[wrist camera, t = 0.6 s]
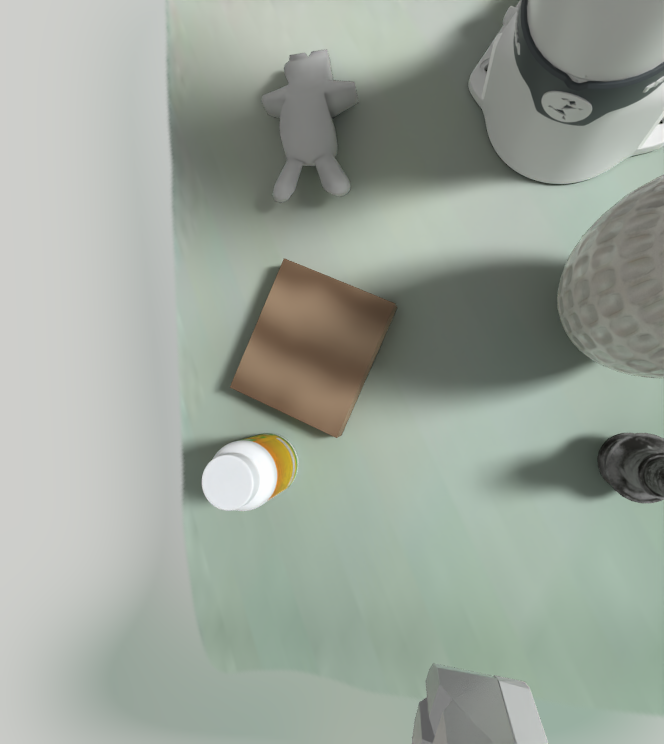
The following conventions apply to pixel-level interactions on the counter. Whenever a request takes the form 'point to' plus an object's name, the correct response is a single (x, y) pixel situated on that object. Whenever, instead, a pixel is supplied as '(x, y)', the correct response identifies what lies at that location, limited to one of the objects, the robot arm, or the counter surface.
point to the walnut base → (313, 347)
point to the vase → (619, 286)
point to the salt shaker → (634, 466)
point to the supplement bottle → (250, 472)
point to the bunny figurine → (310, 122)
